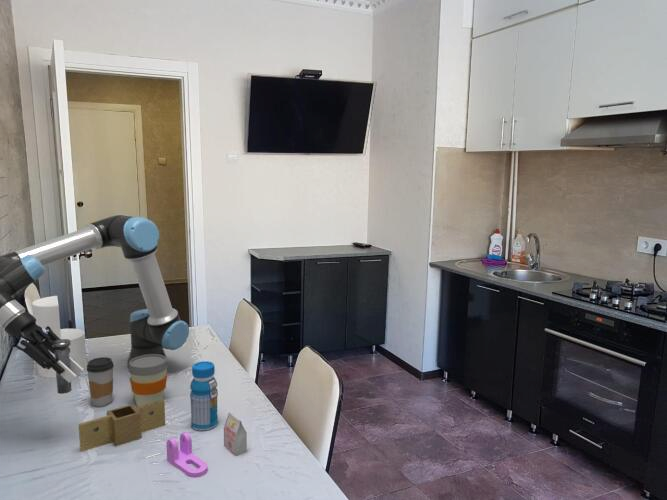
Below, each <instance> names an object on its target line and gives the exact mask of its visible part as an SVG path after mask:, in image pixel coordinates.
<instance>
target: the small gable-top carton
mask: <svg viewBox="0 0 667 500" xmlns="http://www.w3.org/2000/svg"><path fill="white" fill-rule="evenodd" d="M247 434H248V433H247V431H246V428H245V427H244V425H243V423H242V421H241V420H240V419H239V418H238V417H237V416H235V415H234V414H233V413H231V412H228V415H227V418H226V420H225V423H224V425H223V447H224V448H226V449H227V450H228V451H229V452H230V453H232V455H234V456H235V457H237V456H239V455H242V454H244V453H247V452H248V447H247V446H248V439H247V437H248V435H247Z"/></svg>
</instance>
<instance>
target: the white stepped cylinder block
mask: <svg viewBox="0 0 667 500" xmlns="http://www.w3.org/2000/svg"><path fill="white" fill-rule="evenodd" d="M58 298H59V297H58V295H52V296H46V297H41V298H37V299H36V300H33V301H32V302H31V306H32V307H31V308H32V316H33V317H34V318H36V325H38V326H40V327H41V328H46V327H47V326H49V327H50V328H51V330H52V331H53V332H54V333H55V334H56V335H57V336H58V337H59V338H60V339H68V340H70V345H69V348H70V353H69V356H70V357H72V359H74V360H75V361H76V363H77V364H79V365H80V366H81V367H82V368H83V369H84V370H85V369H87V365H88V362H87V348H86V346H87V345H86V333H85V330H83V329H80V328H61V320H60V319H61V318H60V306H59V300H58ZM44 340H45V339H44ZM44 340H43V341H44ZM48 351H49V350H48ZM49 352H50V351H49ZM50 353H51V354H52V355H53V356H54V358H55V355H54V354H53V353H52V352H50ZM36 372H37V375H38V376H40V377H42V378H49V377H55V378H56V371H55V370H54V369H53V368H50V369H44V368H42V367H41V366H40V365H39V364H38V363H36Z"/></svg>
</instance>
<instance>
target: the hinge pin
mask: <svg viewBox="0 0 667 500" xmlns="http://www.w3.org/2000/svg"><path fill="white" fill-rule="evenodd" d="M69 345H70V340H68V339H60V340H56V341H53V342H52V347H53V348H54V350H55V359H56V360H57V362H58V361H59V360H60V361H61V362H62V363H64V364H65V365H66V366H67V367H68V368H69V369H70V360H69ZM55 378H56V389H57V394H60V395H63V394H68V393H70V392H71V391H72V381H71V382H70V383H69V382H68V381H67V380H65V379H64V378H63V377H62V376H61V375H60V374H58V373H57V372H56V377H55Z"/></svg>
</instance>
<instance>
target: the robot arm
mask: <svg viewBox="0 0 667 500" xmlns="http://www.w3.org/2000/svg"><path fill="white" fill-rule="evenodd" d="M159 240H160V232H159V229H158V227H157V225H156V224H155V223H154V221H152V220H150V219H149V218H145V217H142V216H130V215H125V214H124V215H123V214H122V215H120V214H118V215H117V214H116V215H112V216H109V217H105V218H102V219H100V220H97V221H93V222H90V223H87V224H86V225H85V227H83V228H82V229H79V230H75V231H73V232H69V233H67V234H64V235H60V236H57V237H54V238H51V239H48V240H46V241H43V242H40V243H36V244H34V245H31V246H27V247H25V248H24V247H23V248H21V249H18V250H16V251H12V252H9V253H6V254H2V255H0V328H1V329H2V328H3V329H4V331H5V333H7V334H8V335H9V336H10V337H11V338H12V339H16V338H17V339H18V343H17V344H16V345H15V348H16V349H18V350H20V351H22V352H23V353H25V355H26V356H28V357H29V358H30V359H32V360H33V361H35V363H36V364H37V363H38V364H39V365H40V366H41V367H42V368H44V369H50V368H53V369H54V370H55V371H56V372H57V373H58V374H60V375H61V376H62V377H63V378H64V379H65V380H67V381H68V382H69V383H70V382H71V383H72V381H73V380H74V379H76V377H78V376H80V375H81V373H83V372H84V371H85V369H83V368H82V367H81V366H80V365H79V364H77V363H76V361H75V360H74V359H72V357H70V356H69V360H70V369H69V368H68V367H67V366H66V365H65V364H64V363H62V362H61V361H60V360H59V361H58V362H57V360H56V359H55V358H54V356H53V355H52V354H51V353H50V352H52V353H53V354H54V355H55V350H54V348H53V347H52V342H53V341H56V340H60V338H59V337H58V336H57V335H56V334H55V333H54V332H53V331H52V330H51V328H50V327H49V326H47V327H46V328H41V327H40V326H38V325H36V318H34V317H33V314H32V313H30V311H26V308H25V307H24V306H23V305H22V304H21V303H19V301H17V300H16V299H15V298H14V296H16V295H17V294H18V293H19V292H21V291H22V290H24V289H25V288H27V287H28V286H29V285H31V284H32V283H34V282H36V281H38V279H40V278H41V277H42V276H43V275H44V274H45V266H48V265H50V264H54V263H56V262H59V261H61V260H65V259H67V258H70V257H73V256H75V255H78V254H81V253H85V252H86V251H90V250H92V249H95V250H100V249H103V248H107V247H115V248H116V247H117V248H121V251H122V254H123V256H124V259H126V260H128V261H130V262H131V266H132V268H133V272H134V275H135V277H136V280H137V283H138V286H139V289H140V292H141V294H142V298H143V300H144V304H145V306H146V308H145V309H139V310H136V311H133V312H131V313H130V315H129V325H130V345H131V346H130V347H131V348H130V351H129V353H128V354H129V355H128V358H127V361H126V362H127V369H128V370H129V362H130V360H132V359H133V358H135V357H138V356H142V355H148V354H158V355H163V356H165V357H166V359H168V358H167V355H166V352H165V350H170V351H174V350H177V349H179V348H182V346H184V344H185V343H186V342H187V339H188V338H189V334H190V326H189V325H188V323H187V322H186V321H184V320H181V318H180V314H179V311H178V310H177V309H175V308H173V306H172V303H171V300H170V296H169V294H168V291H167V288H166V284H165V281H164V278H163V275H162V271H161V269H160V267H159V263H158V259H157V257H156V255H155V254H156V252H157V251H158V245H159ZM44 339H45V340H44ZM43 340H44V341H43ZM48 350H49V351H50V352H49V351H48ZM69 353H70V348H69Z"/></svg>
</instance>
